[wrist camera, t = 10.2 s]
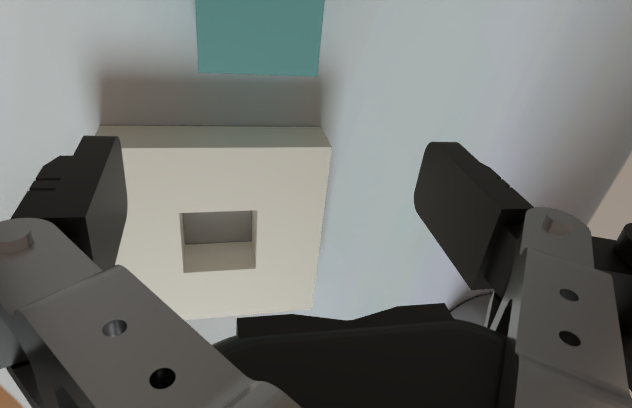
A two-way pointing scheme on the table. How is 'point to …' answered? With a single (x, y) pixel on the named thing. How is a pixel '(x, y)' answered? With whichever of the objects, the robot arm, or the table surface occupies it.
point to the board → (218, 196)
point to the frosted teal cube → (259, 36)
